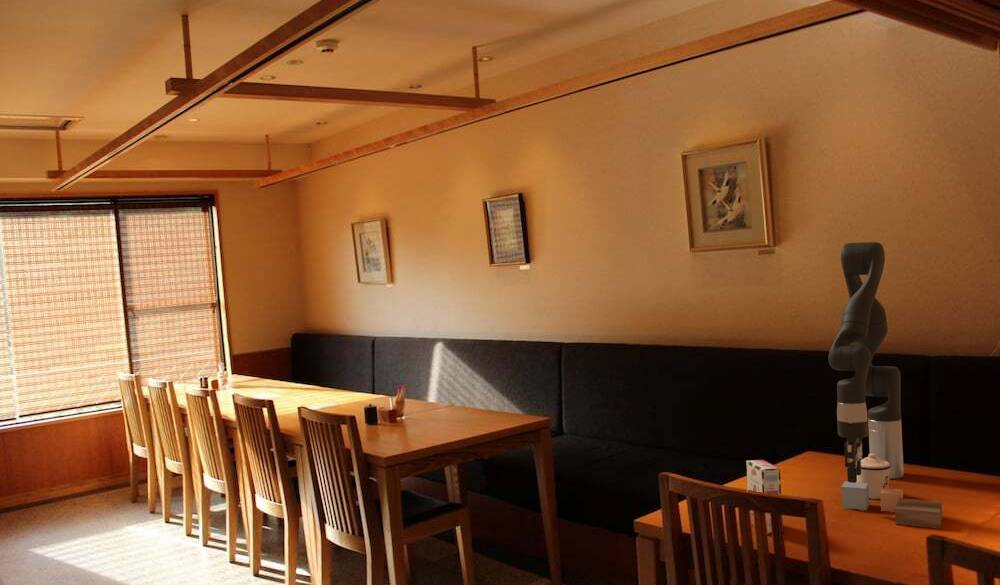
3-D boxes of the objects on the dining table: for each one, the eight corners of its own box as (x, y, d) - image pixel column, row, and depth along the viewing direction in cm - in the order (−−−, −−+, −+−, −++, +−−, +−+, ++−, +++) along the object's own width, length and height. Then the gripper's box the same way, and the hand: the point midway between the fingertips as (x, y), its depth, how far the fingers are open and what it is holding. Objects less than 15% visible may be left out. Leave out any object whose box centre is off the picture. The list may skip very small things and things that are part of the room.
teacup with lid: (890, 500, 237) (888, 458, 237) (855, 498, 241) (853, 457, 241) (893, 489, 248) (891, 449, 247) (858, 487, 252) (857, 447, 251)
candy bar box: (784, 533, 215) (781, 468, 214) (764, 535, 215) (761, 469, 214) (766, 520, 226) (763, 458, 226) (747, 522, 226) (744, 459, 225)
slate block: (845, 502, 238) (844, 481, 238) (869, 504, 235) (868, 482, 235) (842, 508, 233) (841, 486, 233) (866, 510, 230) (865, 488, 230)
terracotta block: (883, 506, 233) (882, 488, 233) (903, 508, 230) (902, 489, 230) (881, 511, 228) (880, 492, 228) (901, 513, 226) (901, 494, 226)
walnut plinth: (899, 513, 226) (898, 498, 226) (942, 517, 221) (941, 501, 221) (895, 524, 217) (894, 508, 217) (940, 528, 212) (939, 512, 212)
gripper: (841, 413, 241) (843, 471, 241) (833, 422, 229) (835, 483, 229) (870, 414, 237) (873, 473, 238) (863, 423, 225) (866, 485, 225)
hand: (854, 478), depth 233 cm, fingers open, 8 cm apart
